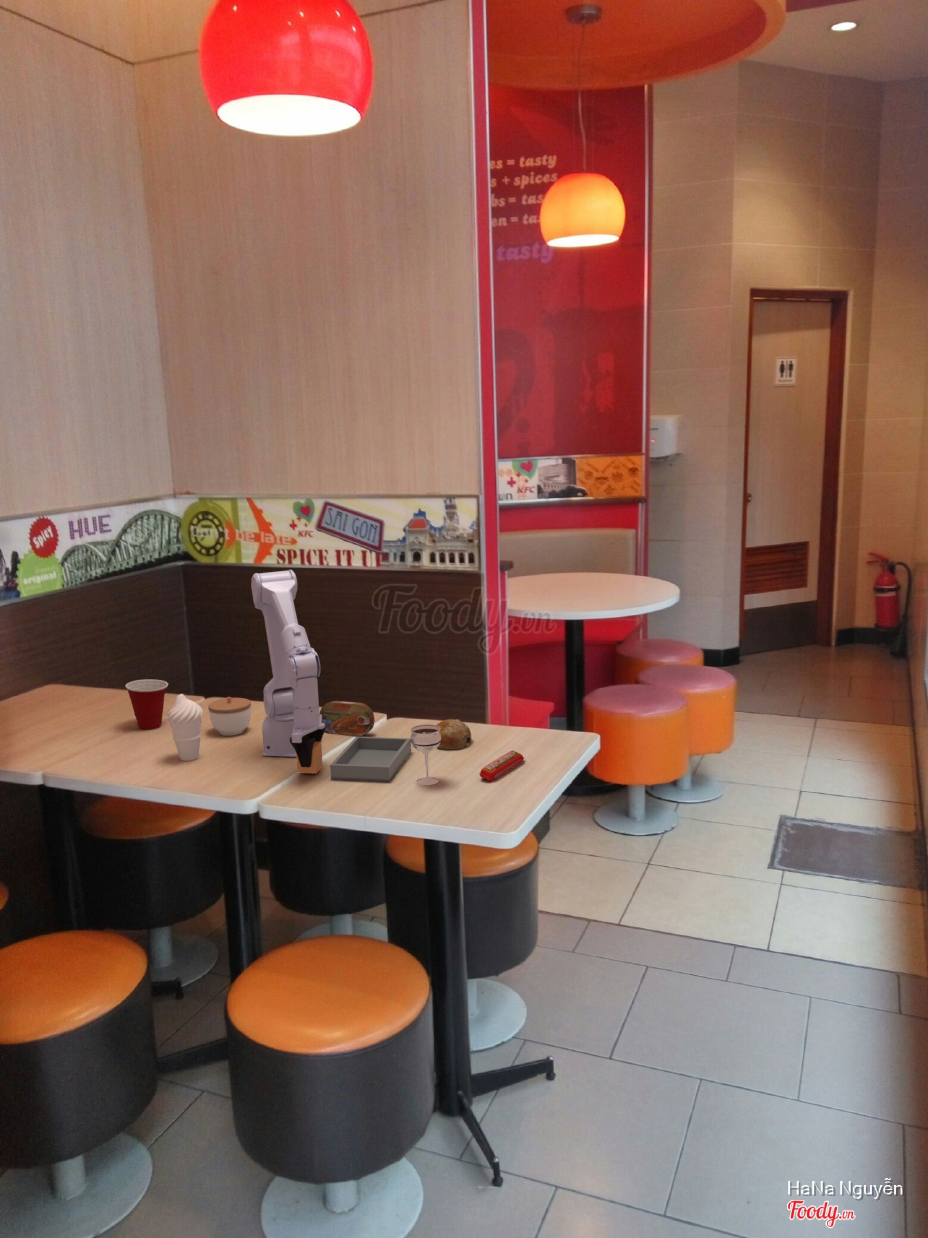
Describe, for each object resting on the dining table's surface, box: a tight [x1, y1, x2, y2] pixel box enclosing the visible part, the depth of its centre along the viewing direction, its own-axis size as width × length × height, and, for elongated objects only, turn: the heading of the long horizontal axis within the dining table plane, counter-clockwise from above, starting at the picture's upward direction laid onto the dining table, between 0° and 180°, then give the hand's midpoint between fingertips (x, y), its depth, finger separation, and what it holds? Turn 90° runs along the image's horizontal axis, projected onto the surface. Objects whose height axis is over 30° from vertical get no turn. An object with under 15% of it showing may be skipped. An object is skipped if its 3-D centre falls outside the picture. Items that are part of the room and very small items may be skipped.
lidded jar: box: [207, 696, 252, 737], centre depth 253 cm, size 11×11×9 cm
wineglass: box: [409, 724, 441, 786], centre depth 215 cm, size 7×7×12 cm
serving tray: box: [329, 736, 412, 783], centre depth 226 cm, size 14×20×4 cm
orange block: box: [295, 741, 324, 774], centre depth 223 cm, size 4×4×6 cm
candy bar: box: [479, 750, 525, 782], centre depth 221 cm, size 16×4×3 cm, turn 147°
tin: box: [319, 700, 376, 737], centre depth 249 cm, size 15×3×8 cm, turn 67°
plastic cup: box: [125, 678, 169, 731], centre depth 260 cm, size 11×11×12 cm
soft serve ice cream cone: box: [166, 693, 204, 762], centre depth 234 cm, size 8×8×16 cm
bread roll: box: [435, 718, 472, 751], centre depth 239 cm, size 10×10×8 cm
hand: (309, 762), depth 223 cm, fingers closed on orange block, 4 cm apart
